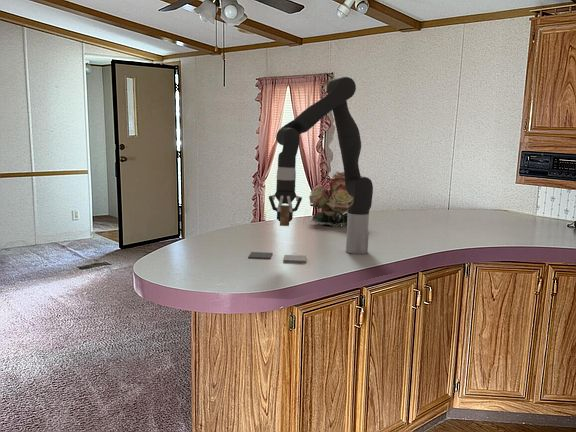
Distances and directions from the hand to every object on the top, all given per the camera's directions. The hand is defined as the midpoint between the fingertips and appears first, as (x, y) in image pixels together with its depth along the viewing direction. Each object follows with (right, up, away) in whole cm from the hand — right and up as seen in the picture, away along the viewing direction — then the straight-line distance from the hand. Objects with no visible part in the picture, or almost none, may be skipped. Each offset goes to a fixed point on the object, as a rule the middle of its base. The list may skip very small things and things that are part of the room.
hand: (284, 220), depth 213 cm
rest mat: (-10, -15, +6) cm, 19 cm away
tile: (+5, -15, +5) cm, 16 cm away
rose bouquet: (+29, -3, +92) cm, 96 cm away
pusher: (0, -2, 0) cm, 2 cm away
